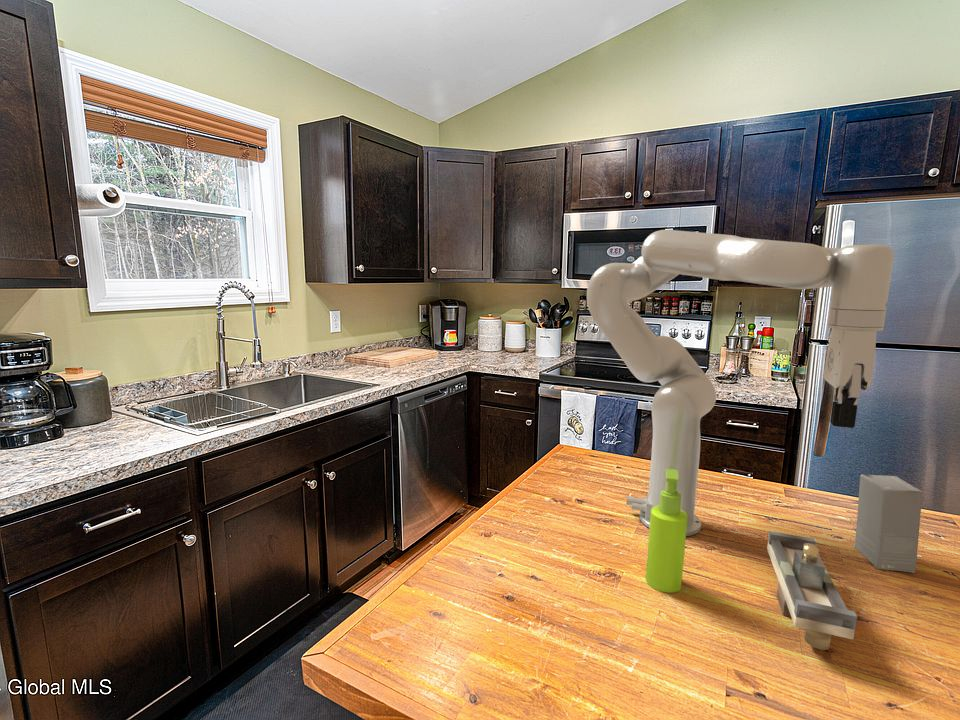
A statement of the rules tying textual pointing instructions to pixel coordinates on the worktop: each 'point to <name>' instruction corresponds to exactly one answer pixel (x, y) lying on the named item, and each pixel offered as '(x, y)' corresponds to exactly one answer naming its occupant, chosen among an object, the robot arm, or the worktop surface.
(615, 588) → the worktop surface
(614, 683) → the worktop surface
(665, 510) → the soap dispenser
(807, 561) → the rider
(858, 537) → the skincare box
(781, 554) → the stand
